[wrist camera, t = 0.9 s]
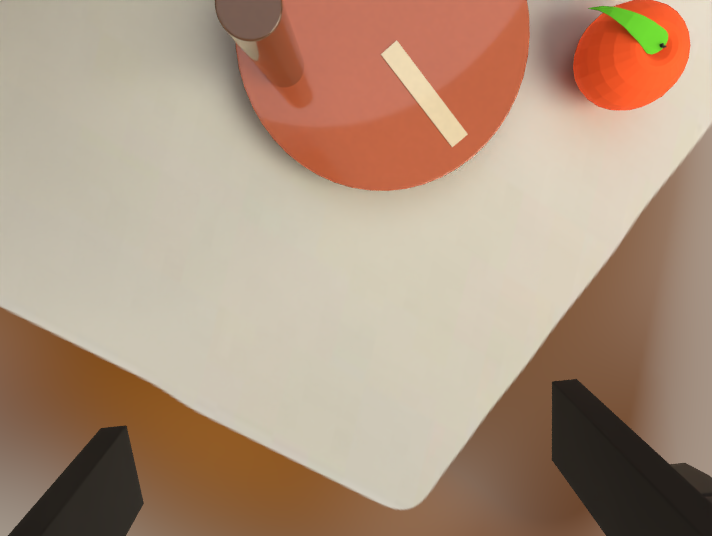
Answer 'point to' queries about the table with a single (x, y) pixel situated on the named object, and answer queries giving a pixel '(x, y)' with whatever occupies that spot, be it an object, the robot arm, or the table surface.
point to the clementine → (631, 54)
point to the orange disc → (380, 81)
